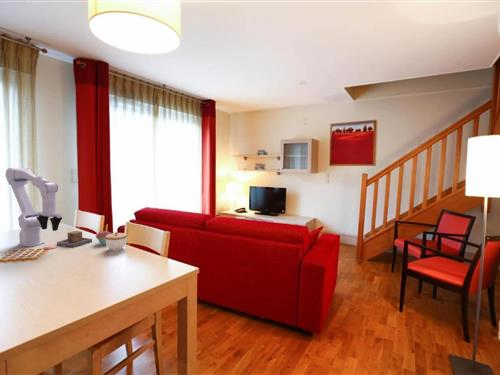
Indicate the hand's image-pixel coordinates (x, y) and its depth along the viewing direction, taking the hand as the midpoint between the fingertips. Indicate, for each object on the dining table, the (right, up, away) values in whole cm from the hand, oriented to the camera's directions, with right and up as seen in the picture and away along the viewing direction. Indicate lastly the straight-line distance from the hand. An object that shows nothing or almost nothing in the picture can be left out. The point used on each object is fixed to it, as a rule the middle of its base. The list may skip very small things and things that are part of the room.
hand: (49, 229), depth 145 cm
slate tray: (+7, -9, +10) cm, 15 cm away
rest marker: (0, -10, +1) cm, 10 cm away
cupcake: (+23, -10, +12) cm, 28 cm away
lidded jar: (+35, -11, +2) cm, 37 cm away
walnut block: (+7, -9, +10) cm, 15 cm away
